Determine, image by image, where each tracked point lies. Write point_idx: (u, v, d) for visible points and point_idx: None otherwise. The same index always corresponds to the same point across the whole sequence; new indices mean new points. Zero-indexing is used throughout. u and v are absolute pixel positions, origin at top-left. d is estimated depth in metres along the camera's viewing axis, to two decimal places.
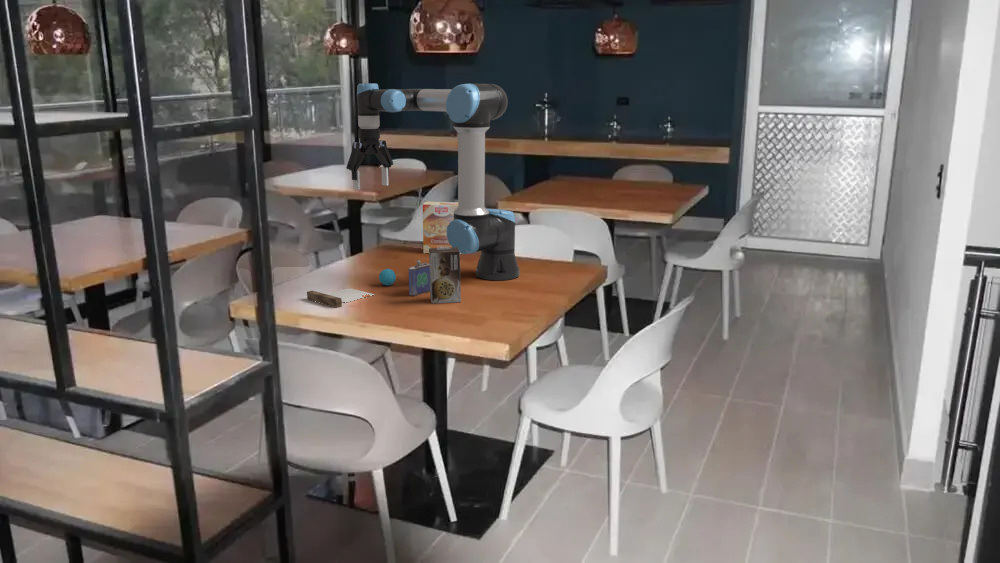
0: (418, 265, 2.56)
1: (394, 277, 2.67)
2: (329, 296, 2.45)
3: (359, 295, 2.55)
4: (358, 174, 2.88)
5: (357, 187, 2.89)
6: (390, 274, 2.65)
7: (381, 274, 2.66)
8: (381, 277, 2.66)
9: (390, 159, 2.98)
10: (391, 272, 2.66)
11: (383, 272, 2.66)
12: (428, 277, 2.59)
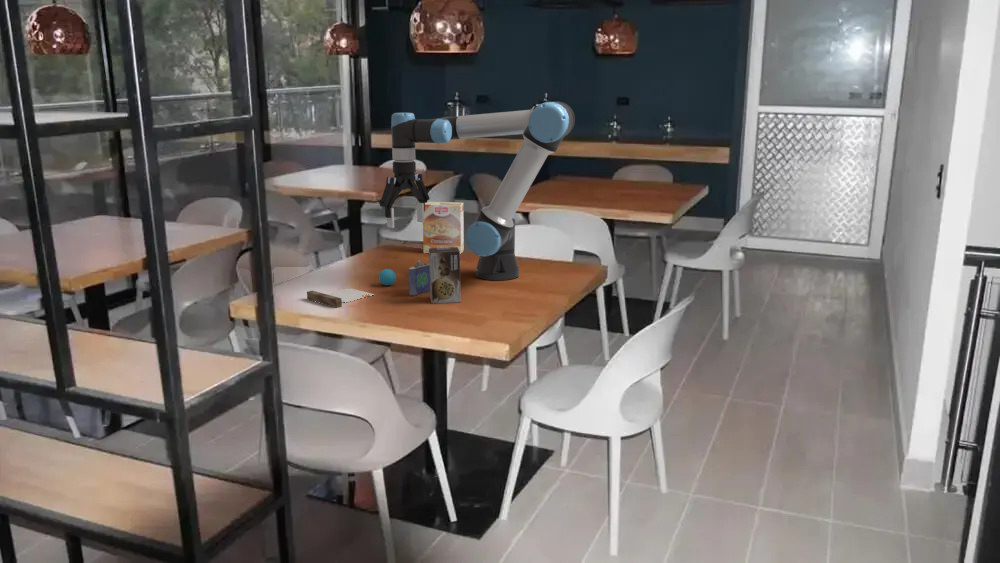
0: (418, 265, 2.56)
1: (394, 277, 2.67)
2: (329, 296, 2.45)
3: (359, 295, 2.55)
4: (392, 211, 2.65)
5: (391, 225, 2.66)
6: (390, 274, 2.65)
7: (381, 274, 2.66)
8: (381, 277, 2.66)
9: (426, 194, 2.75)
10: (391, 272, 2.66)
11: (383, 272, 2.66)
12: (428, 277, 2.59)
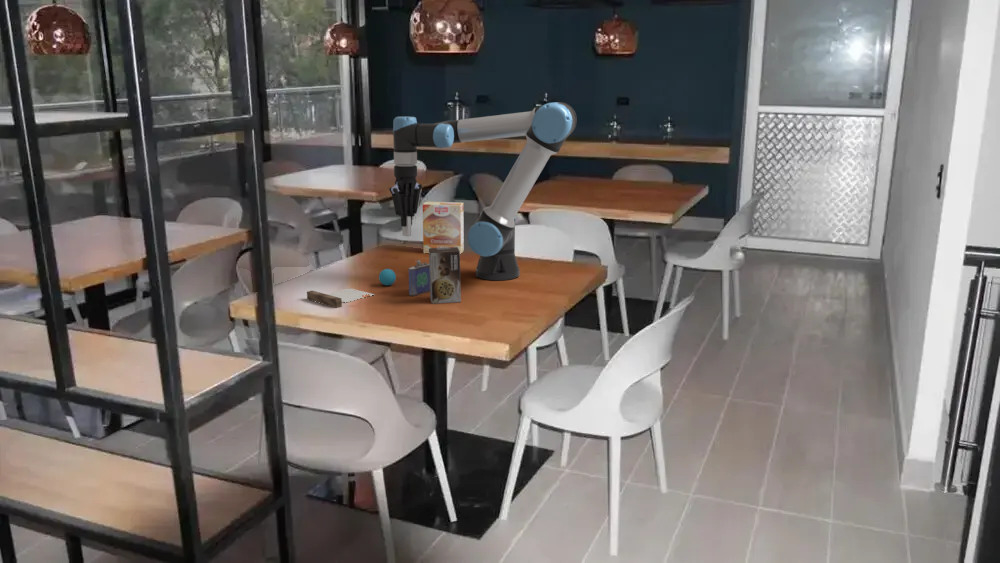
0: (418, 265, 2.56)
1: (394, 277, 2.67)
2: (329, 296, 2.45)
3: (359, 295, 2.55)
4: (408, 220, 2.69)
5: (406, 234, 2.70)
6: (390, 274, 2.65)
7: (381, 274, 2.66)
8: (381, 277, 2.66)
9: (416, 206, 2.71)
10: (391, 272, 2.66)
11: (383, 272, 2.66)
12: (428, 277, 2.59)
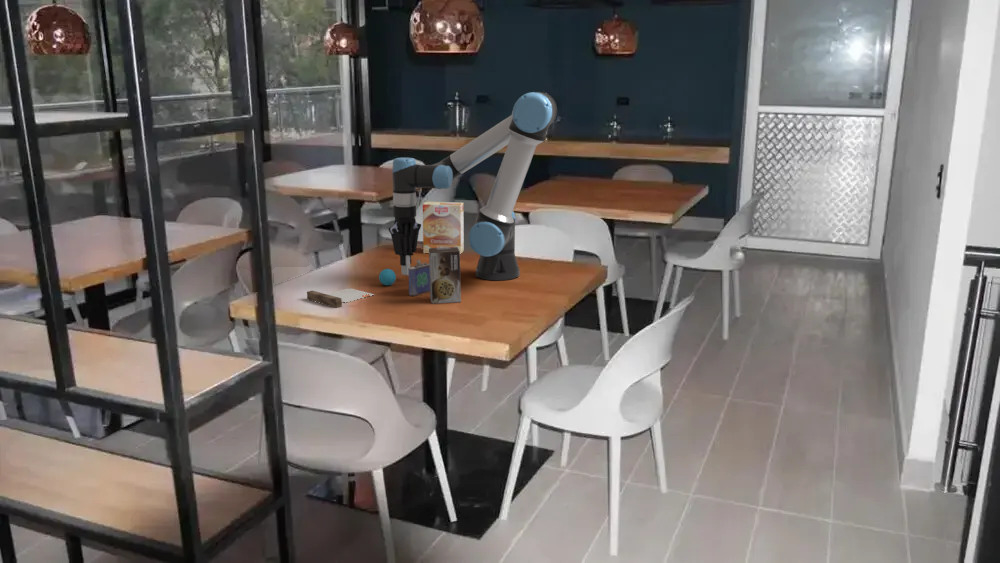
0: (418, 265, 2.56)
1: (394, 277, 2.67)
2: (329, 296, 2.45)
3: (359, 295, 2.55)
4: (407, 259, 2.72)
5: (406, 273, 2.73)
6: (390, 274, 2.65)
7: (381, 274, 2.66)
8: (381, 277, 2.66)
9: (415, 245, 2.74)
10: (391, 272, 2.66)
11: (383, 272, 2.66)
12: (428, 277, 2.59)
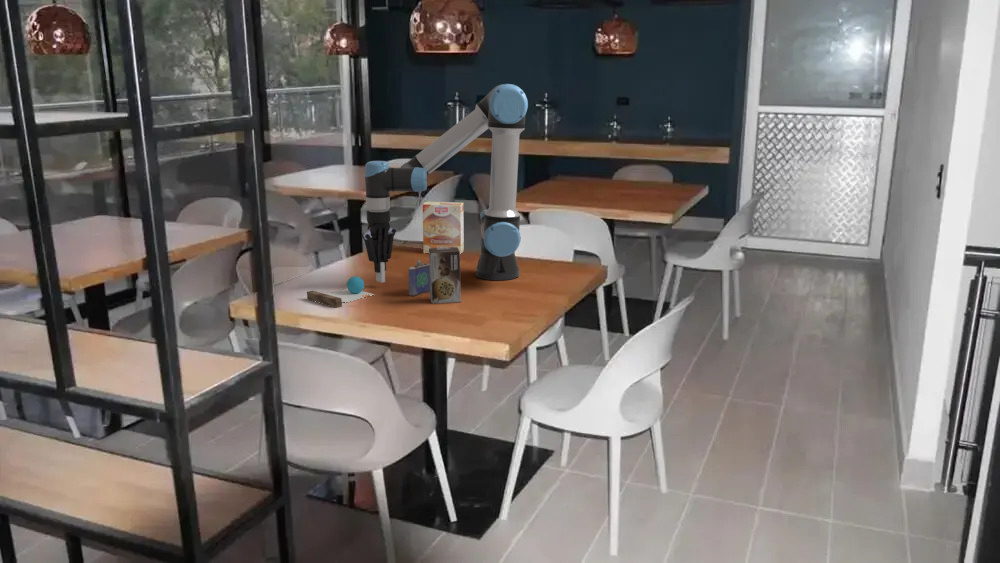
0: (418, 265, 2.56)
1: (361, 288, 2.56)
2: (329, 296, 2.45)
3: (359, 295, 2.55)
4: (381, 266, 2.63)
5: (380, 280, 2.64)
6: (363, 283, 2.57)
7: None
8: (356, 276, 2.57)
9: (390, 251, 2.65)
10: None
11: None
12: (428, 277, 2.59)
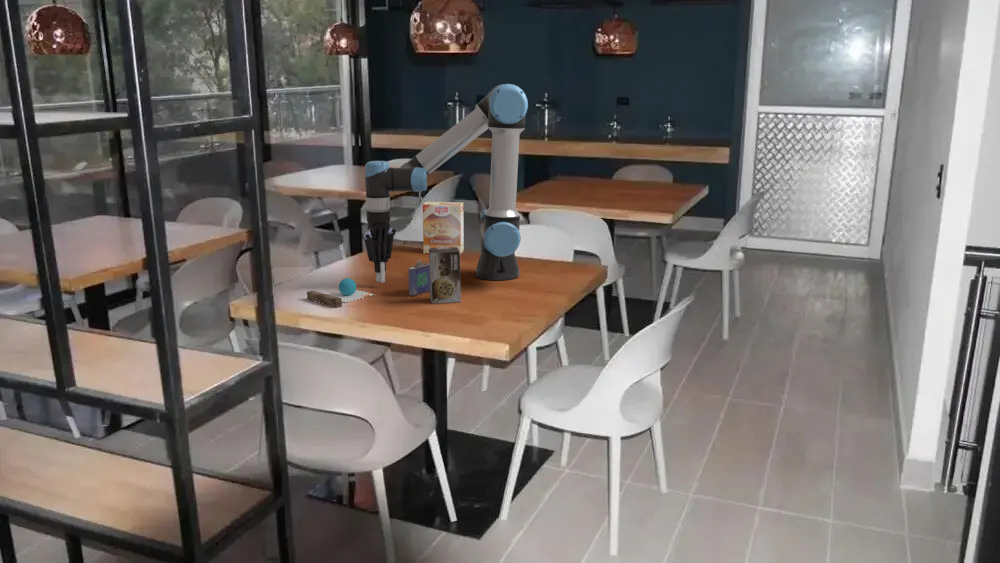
0: (418, 265, 2.56)
1: (354, 288, 2.54)
2: (329, 296, 2.45)
3: (359, 295, 2.55)
4: (381, 266, 2.63)
5: (380, 280, 2.64)
6: (351, 283, 2.53)
7: (342, 281, 2.54)
8: (341, 284, 2.53)
9: (390, 251, 2.65)
10: (353, 282, 2.54)
11: (345, 279, 2.54)
12: (428, 277, 2.59)
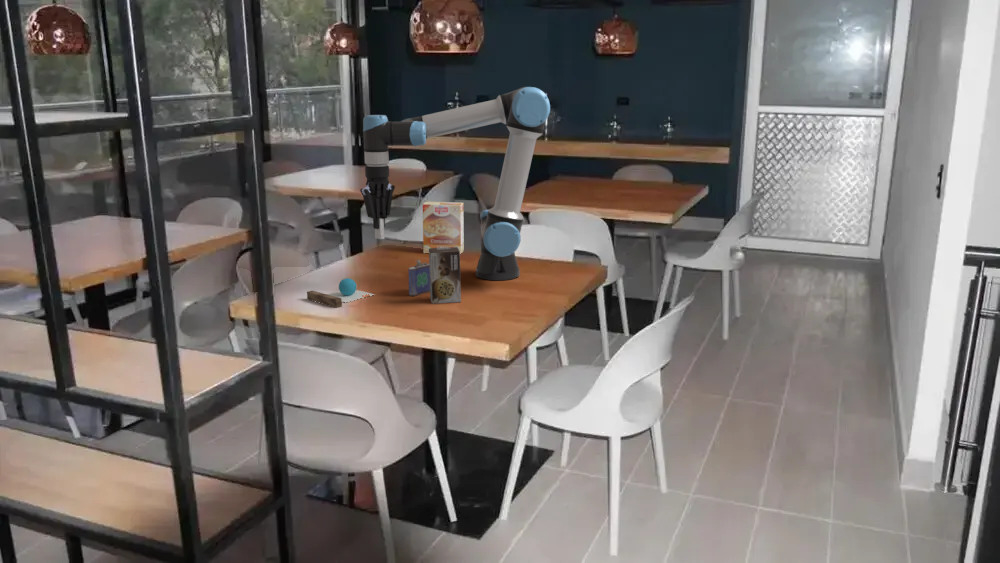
0: (418, 265, 2.56)
1: (354, 288, 2.54)
2: (329, 296, 2.45)
3: (359, 295, 2.55)
4: (380, 222, 2.60)
5: (379, 237, 2.61)
6: (351, 283, 2.53)
7: (342, 281, 2.54)
8: (341, 284, 2.53)
9: (389, 208, 2.62)
10: (353, 282, 2.54)
11: (345, 279, 2.54)
12: (428, 277, 2.59)
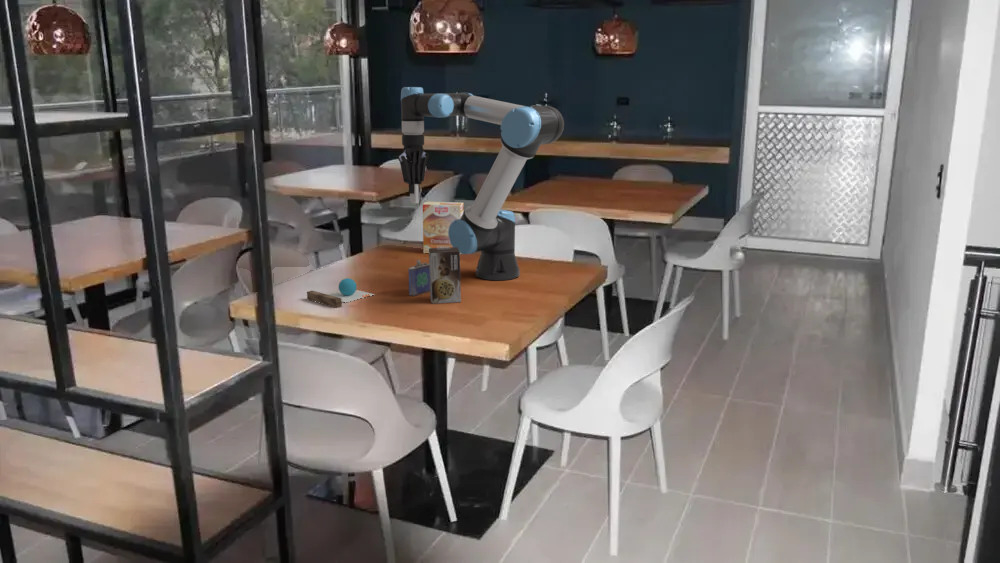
0: (418, 265, 2.56)
1: (354, 288, 2.54)
2: (329, 296, 2.45)
3: (359, 295, 2.55)
4: (415, 187, 2.79)
5: (414, 201, 2.80)
6: (351, 283, 2.53)
7: (342, 281, 2.54)
8: (341, 284, 2.53)
9: (423, 174, 2.81)
10: (353, 282, 2.54)
11: (345, 279, 2.54)
12: (428, 277, 2.59)
